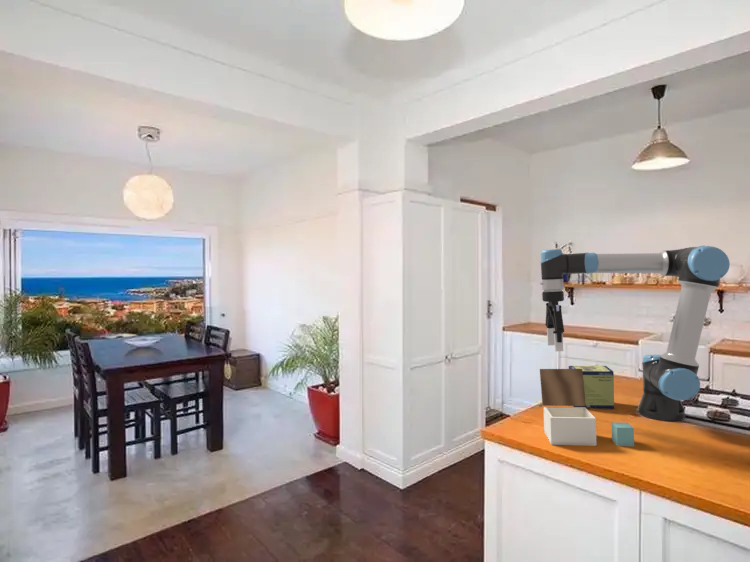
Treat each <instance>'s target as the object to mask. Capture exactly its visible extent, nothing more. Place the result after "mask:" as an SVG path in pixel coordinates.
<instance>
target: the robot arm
mask: <svg viewBox="0 0 750 562" xmlns="http://www.w3.org/2000/svg"><path fill="white" fill-rule="evenodd" d="M540 269H541V271H540V273H541V275H540V276H541V282H539V283H540V285H541V288H542V289H541V290H542V293H541V295H542V296H541V297H542V298H541V300H542V301H543V302H546V303H545V306H546V307H545V308H546V310H545V324H544V325H545V326H546V334H547V336H546V337H547V338H546V339H547V346H554V351H555V352H564V338H563V337H564V336H563V335H564V334H563V333H565V328H564V319H563V313H562V305H561V304H559V302H564V300H565V294H564V291H563V290H564V288H565V286H564V275H572V274H573V275H575V274H576V275H579V274H581V275H582V274H587V275H589V274H660V275H661V276H662V277H663V276H664V277H677V278H678V279H677V282H678V284H680V286H681V289H680V293H679V298H678V303H677V306H676V311H675V315H674V319H673V322H672V326H671V327H672V328H671V331H670V336H669V340H668V345H667V348H666V349H667V350H666V352H665V353H663V354H646V355H644V356H643V357H642V362H641V365H642V383H643V384H642V386H643V387H642V389H643V390H642V391H643V393H642V397H641V399H640V402H639V404H638V413H639V414H640V415H641V416H642V417H645V418H648V419H653V420H659V421H667V422H669V421H670V422H671V421H672V422H673V421H675V422H676V421H682V420H684V419H685V418H686V411H685V408H684V405H683V404H682V401H688V400H690V399H692V398H694V397H695V396H696V395H697V394H698V393H699V391H700V389H701V381H700V378H699V376H698V372H699V367H700V366H699V365H700V364H699V362H697V360H696V357H697V352H698V348H699V345H700V340H701V336H702V331H703V327H704V324H705V318H706V315H707V311H708V307H709V303H710V299H711V295H712V292H713V291H716V290H718V288H719V284H720V281H721V279H722V278H724V276H726V275H727V273H728V272H729V269H730V259H729V257H728V255H727V254H726V252H725V251H724V250H722V249H720V248H718V247H716V246H712V245H701V246H691V247H684V248H679V249H671V250H662V251H661V252H658V253H657V252H653V253H651V252H650V253H648V252H647V253H645V252H644V253H595V252H582V253H581V252H579V253H578V252H575V253H563V251H562V249H561V248H556V249H555V248H554V249H543V250H541V252H540ZM684 417H685V418H684ZM683 418H684V419H683ZM681 419H682V420H681Z"/></svg>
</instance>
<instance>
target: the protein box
mask: <svg viewBox="0 0 750 562" xmlns="http://www.w3.org/2000/svg"><path fill="white" fill-rule="evenodd" d="M568 369H582V372H583V382H584V392H585V402H586V405H590V407H586V406H572V407H586V409H597V410H598V409H600V410H601V409H602V410H614V409H615V391H614V390H615V388H614V387H615V380H614V379H615V378H614V376H615V374H614V373H615V372H614V371H613V370H612V369H611V368H610V367H609V366H607V365H568Z"/></svg>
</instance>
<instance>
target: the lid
mask: <svg viewBox="0 0 750 562" xmlns="http://www.w3.org/2000/svg"><path fill="white" fill-rule="evenodd" d="M539 378H540V390H541V391H540V393H541V404H542V407H573V406H586V402H585V392H584V382H583V372H582V369H569V368H539Z"/></svg>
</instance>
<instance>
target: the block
mask: <svg viewBox="0 0 750 562" xmlns="http://www.w3.org/2000/svg"><path fill="white" fill-rule="evenodd" d="M634 430H635V428H634V427H633V426H632V425H631V424H630V423H629V422H615V421H614V422H611V441H612V442H613V443H614V444H615V445H616V446H617V447H619V446H620V447H635V431H634Z"/></svg>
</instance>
